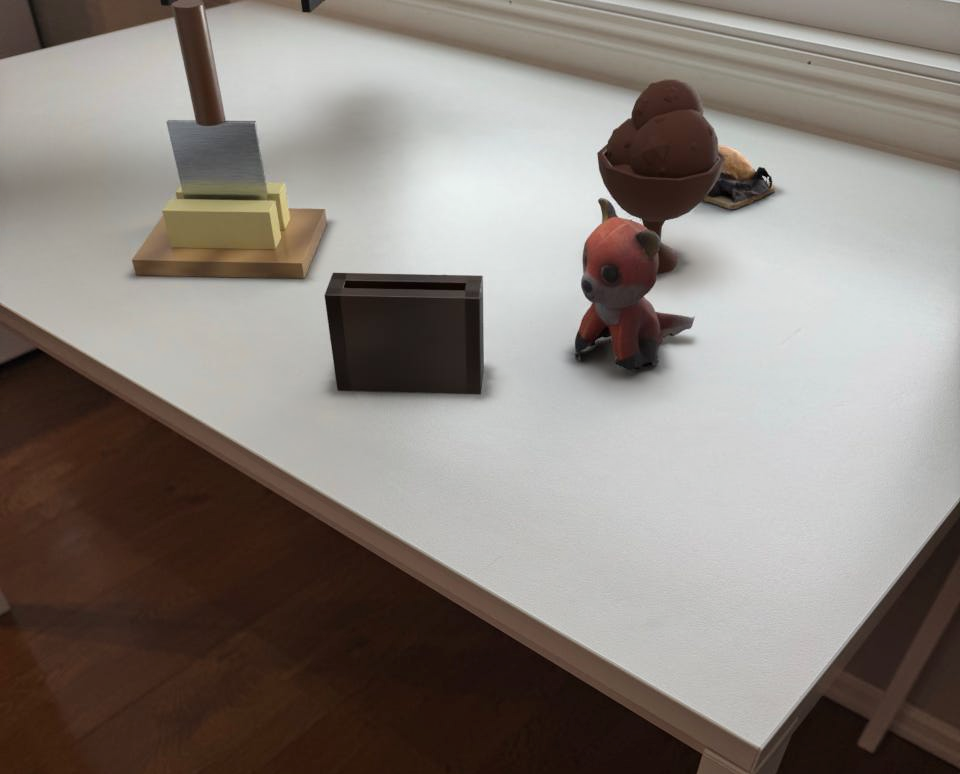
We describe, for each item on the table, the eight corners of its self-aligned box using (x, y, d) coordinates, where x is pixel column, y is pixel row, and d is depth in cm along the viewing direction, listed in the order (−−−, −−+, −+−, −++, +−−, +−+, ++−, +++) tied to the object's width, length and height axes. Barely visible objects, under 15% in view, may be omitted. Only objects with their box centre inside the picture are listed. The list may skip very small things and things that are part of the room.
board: (135, 275, 91) (131, 259, 89) (172, 221, 99) (168, 206, 98) (304, 278, 90) (301, 263, 89) (327, 223, 98) (325, 208, 97)
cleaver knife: (188, 238, 92) (134, 7, 79) (195, 226, 94) (144, -2, 81) (271, 239, 92) (231, 7, 78) (276, 227, 94) (239, -1, 80)
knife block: (337, 390, 76) (324, 295, 71) (344, 366, 79) (332, 272, 73) (481, 394, 76) (479, 298, 70) (483, 370, 78) (483, 275, 72)
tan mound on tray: (651, 183, 104) (655, 146, 102) (704, 162, 108) (709, 127, 105) (728, 213, 99) (734, 175, 96) (780, 190, 102) (788, 154, 100)
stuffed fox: (716, 350, 80) (743, 203, 71) (614, 396, 75) (630, 244, 67) (653, 315, 84) (671, 171, 75) (553, 356, 80) (560, 208, 71)
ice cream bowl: (569, 251, 93) (578, 78, 82) (665, 227, 96) (686, 58, 85) (630, 297, 86) (649, 116, 75) (731, 270, 90) (763, 93, 79)
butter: (171, 247, 91) (161, 210, 89) (190, 217, 96) (182, 180, 93) (275, 249, 91) (269, 212, 88) (290, 219, 95) (284, 182, 93)
